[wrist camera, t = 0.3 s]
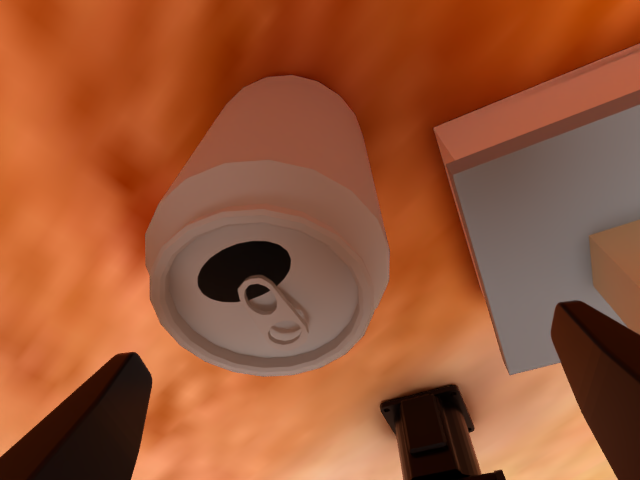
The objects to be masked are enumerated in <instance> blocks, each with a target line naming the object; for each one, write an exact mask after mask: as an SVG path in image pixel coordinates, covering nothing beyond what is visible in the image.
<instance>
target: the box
mask: <svg viewBox="0 0 640 480" xmlns="http://www.w3.org/2000/svg"><path fill="white" fill-rule="evenodd" d="M637 90H640V43H639V44H637V45H634V46H632V47H630V48H627V49H625V50H622V51H620V52H617V53H615V54H612V55H610V56H607V57H605V58H603V59H600V60H598V61H595V62H593V63H590V64H588V65H585V66H583V67H581V68H578V69H576V70H573V71H571V72H568V73H566V74H563V75H561V76H559V77H556V78H554V79H551V80H549V81H546V82H544V83H541V84H539V85H536V86H534V87H532V88H529V89H527V90H524V91H522V92H519V93H517V94H514V95H512V96H510V97H507V98H505V99H502V100H500V101H497V102H495V103H492V104H490V105H488V106H485V107H483V108H480V109H478V110H475V111H473V112H470V113H468V114H465V115H463V116H461V117H458V118H456V119H453V120H451V121H448V122H446V123H443V124H441V125H439V126H436V127H434V128H433V129H434V133H435V136H436V140H437V143H438V146H439V150H440V153H441V157H442V160H443V163H444V167H445V170H446V174H447V177H448V180H449V184H450V187H451V190H452V194H453V197H454V201H455V204H456V207H457V211H458V214H459V218H460V221H461V224H462V228H463V231H464V235H465V238H466V241H467V245H468V248H469V252H470V255H471V258H472V262H473V265H474V268H475V272H476V275H477V279H478V282H479V285H480V289H481V292H482V294H483V296H484V293H483V290H482V287H481V283H480V280H479V276H478V273H477V269H476V266H475V263H474V259H473V256H472V252H471V249H470V246H469V242H468V239H467V235H466V232H465V228H464V225H463V222H462V218H461V215H460V211H459V208H458V204H457V201H456V198H455V194H454V191H453V187H452V184H451V180H450V177H449V174H448V170H447V167H446V164H447V163H450V162H452V161H455V160H458V159H460V158H463V157H466V156H468V155H471V154H473V153H476V152H479V151H481V150H484V149H486V148H489V147H492V146H494V145H497V144H499V143H502V142H505V141H507V140H510V139H512V138H515V137H518V136H520V135H523V134H525V133H528V132H531V131H533V130H536V129H538V128H541V127H544V126H546V125H549V124H552V123H554V122H557V121H559V120H562V119H565V118H567V117H570V116H572V115H575V114H578V113H580V112H583V111H585V110H588V109H591V108H593V107H596V106H598V105H601V104H604V103H606V102H609V101H611V100H614V99H617V98H619V97H622V96H624V95H627V94H630V93H632V92H635V91H637ZM484 298H485V297H484Z"/></svg>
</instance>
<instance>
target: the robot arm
mask: <svg viewBox="0 0 640 480" xmlns="http://www.w3.org/2000/svg"><path fill="white" fill-rule="evenodd" d="M551 339H552V342H553V345H554V347H555V350H556V352H557V354H558V357H559V359H560V362H561V364H562V366H563V369H564V371H565V374H566V376H567V379H568V381H569V383H570V386H571V388H572V391H573V393H574V396H575V398H576V400H577V403H578V405H579V407H580V409H581V412H582V414H583V416H584V418H585V420H586V422H587V423H588V425H589V427H590V429H591V431H592V433H593V435H594V436H595V438H596V440H597V442H598V444H599V446H600V447H601V449H602V451H603V453H604V455H605V457H606V458H607V460H608V462H609V464H610V466H611V467H612V469H613V471H614V473H615V475H616V477H617V478H618V480H640V334H638V333H636V332H634V331H633V330H631V329H629V328H627V327H626V326H624V325H622V324H621V323H619V322H617V321H615V320H614V319H612V318H610V317H609V316H607V315H605V314H603V313H602V312H600V311H598V310H597V309H595V308H593V307H591V306H590V305H588V304H586V303H584V302H582V301H580V300H573V301H565V302H559V303H558V304H557V305H556V307H555V311H554V316H553V321H552V326H551ZM151 388H152V377H151V374H150V372H149V371H148V369H147V367H146V366H145V364H144V363H143V361H142V359H141V358H140V356H139V355H138V354H137V353H135V352H129V353H120V354H117V355H115V356H114V357H113V358H111V359H110V360H109V361H108V362H107V363H106V364H105V365H104V366H102V367H101V368H100V369H99V370H98V371H97V372H96V373H95V374H93V375H92V376H91V377H90V378H89V379H88V380H87V381H86V382H84V383H83V384H82V385H81V386H80V387H79V388H78V389H77V390H75V391H74V392H73V393H72V394H71V395H70V396H69V397H68V398H66V399H65V400H64V401H63V402H62V403H61V404H60V405H59V406H57V407H56V408H55V409H54V410H53V411H52V412H51V413H50V414H48V415H47V416H46V417H45V418H44V419H43V420H42V421H41V422H39V423H38V424H37V425H36V426H35V427H34V428H33V429H32V430H30V431H29V432H28V433H27V434H26V435H25V436H24V437H23V438H21V439H20V440H19V441H18V442H17V443H16V444H15V445H14V446H12V447H11V448H10V449H9V450H8V451H7V452H6V453H5V454H3V455H2V456H1V457H0V480H131V477H132V474H133V470H134V467H135V464H136V460H137V456H138V453H139V449H140V444H141V440H142V434H143V429H144V424H145V419H146V414H147V409H148V403H149V398H150V393H151ZM380 409H381V413H382V414H383V416H384V417H385V419H386V421H387V422H388V424H389V425H390V427H391V429H392V430H393V432H394V433H395V435H396V437H397V442H398V449H399V455H400V462H401V468H402V474H403V480H506V479H505V476H504V474H503V471H502V470H497V471H494V473H487V474H481V470H480V467H479V464H478V461H477V457H476V454H475V451H474V448H473V445H472V441H471V438H470V435H469V433H470V432H472V431H474V425H473V423H472V420H471V418H470V415H469V413H468V411H467V408H466V406H465V403H464V401H463V398H462V396H461V394H460V391H459V389H458V387H457V386H448V387H444V388H440V389H436V390H432V391H428V392H424V393H420V394H416V395H412V396H408V397H404V398H400V399H396V400H392V401H388V402H384V403H382V404H381V405H380Z"/></svg>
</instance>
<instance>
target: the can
mask: <svg viewBox="0 0 640 480" xmlns="http://www.w3.org/2000/svg"><path fill="white" fill-rule="evenodd" d="M145 251H146V267H147V270H148V272H149V275H150V300H151V303H152V305H153V307H154V310H155V312H156V314H157V317H158V319H159V321H160V324H161V325H162V326H163V327H164V328H165V329H166V330H167V331H168V333H169V334H170V335H171V336H172V337H173V338H174V339H175V340H176V341H177V342H178V344H179V345H181V346H182V347H183V348H185V349H187V350H188V351H190V352H191V353H193V354H194V355H196V356H197V357H199V358H201V359H202V360H204V361H205V362H208V363H210V364H213V365H216V366H219V367H221V368H224V369H227V370H229V371H232V372H237V373H243V374H250V375H257V376H285V375H295V374H299V373H302V372H306V371H310V370H314V369H318V368H321V367H323V366H325V365H326V364H328V363H330V362H332V361H334V360H336V359H337V358H339V357H341V356H343V355H345V354H346V353H347V352H348V351H349V350H350V349H351V348H352V347H353V346H354V345H355V344H356V343H357V342H358V341H359V340H360V339H361V338H362V337H363V336H364V334H365V332H366V329H367V327H368V325H369V323H370V320H371V318H372V316H373V314H374V310H375V309H376V308H377V307H378V305H379V302H380V300H381V298H382V295H383V293H384V291H385V289H386V286H387V284H388V282H389V259H390V250H389V245H388V241H387V237H386V232H385V228H384V224H383V219H382V215H381V211H380V207H379V202H378V198H377V194H376V189H375V185H374V181H373V176H372V172H371V168H370V164H369V159H368V155H367V151H366V146H365V142H364V138H363V135H362V132H361V129H360V126H359V124H358V121H357V118H356V116H355V114H354V113H353V111H352V110H351V109H350V108H349V106H348V105H347V104H346V103H345V101H344V100H343V99H342V98H341V96H340V95H338V94H337V93H335V92H334V91H332V90H331V89H329V88H327V87H326V86H324V85H323V84H321V83H320V82H318V81H314V80H311V79H307V78H303V77H299V76H295V75H285V76H273V77H265V78H263V79H261V80H259V81H257V82H254V83H252V84H250V85H248V86H245V87H243V88H242V89H241V90H240V91H239V92H238V93H237V94H236V95H235V96H234V97H233V98H232V99H231V100H230V101H229V102H228V103H227V104H226V105H225V107H224V108H223V110H222V111H221V113H220V114H219V116H218V117H217V118H216V120H215V121H214V123H213V124H212V126H211V127H210V129H209V130H208V132H207V133H206V135H205V136H204V138H203V139H202V141H201V142H200V144H199V145H198V147H197V148H196V150H195V151H194V152H193V154H192V155H191V157H190V158H189V160H188V161H187V163H186V164H185V166H184V167H183V169H182V170H181V172H180V173H179V175H178V176H177V178H176V179H175V181H174V182H173V183H172V185H171V186H170V188H169V189H168V191H167V192H166V194H165V195H164V197H163V198H162V200H161V201H160V203H159V204H158V207H157V209H156V211H155V213H154V216H153V218H152V220H151V222H150V225H149V227H148V229H147V232H146V234H145Z"/></svg>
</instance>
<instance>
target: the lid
mask: <svg viewBox="0 0 640 480" xmlns="http://www.w3.org/2000/svg"><path fill="white" fill-rule="evenodd" d="M446 167H447V170H448V174H449V177H450V180H451V184H452V187H453V191H454V194H455V198H456V201H457V204H458V208H459V211H460V215H461V218H462V222H463V225H464V228H465V232H466V235H467V239H468V242H469V246H470V249H471V252H472V256H473V259H474V263H475V266H476V269H477V273H478V276H479V280H480V283H481V287H482V290H483V293H484V297H485V300H486V304H487V307H488V311H489V314H490V317H491V321H492V324H493V328H494V331H495V335H496V338H497V341H498V345H499V348H500V352H501V355H502V359H503V361H504V364H505V366H506V368H507V370H508V372H509V375H512V374H516V373H520V372H525V371H529V370H533V369H537V368H541V367H545V366H549V365H553V364H557V363H561V362H560V359H559V357H558V354H557V352H556V350H555V347H554V345H553V342H552V339H551V326H552V321H553V316H554V311H555V307H556V305H557V304H558V303H559V302H565V301H573V300H580V301H582V302H584V303H586V304H588V305H590V306H591V307H593V308H595V309H597V310H598V311H600V312H602V313H603V314H605V315H607V316H609V317H610V318H612V319H614V320H615V321H617V322H619V323H621V324H622V325H624V326H626V327H627V328H629V329H631V330H633V331H634V332H636V333H638V334H640V90H637V91H635V92H632V93H630V94H627V95H624V96H622V97H619V98H617V99H614V100H611V101H609V102H606V103H604V104H601V105H598V106H596V107H593V108H591V109H588V110H585V111H583V112H580V113H578V114H575V115H572V116H570V117H567V118H565V119H562V120H559V121H557V122H554V123H552V124H549V125H546V126H544V127H541V128H538V129H536V130H533V131H531V132H528V133H525V134H523V135H520V136H518V137H515V138H512V139H510V140H507V141H505V142H502V143H499V144H497V145H494V146H492V147H489V148H486V149H484V150H481V151H479V152H476V153H473V154H471V155H468V156H466V157H463V158H460V159H458V160H455V161H452V162H450V163H447V164H446Z"/></svg>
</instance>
